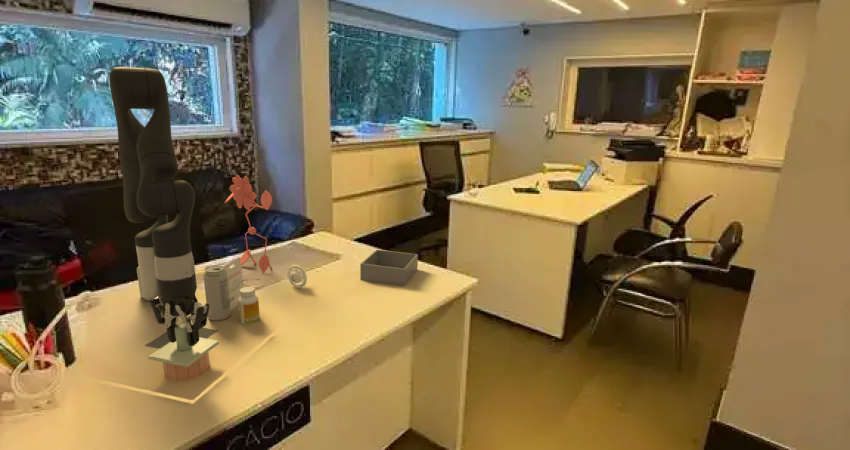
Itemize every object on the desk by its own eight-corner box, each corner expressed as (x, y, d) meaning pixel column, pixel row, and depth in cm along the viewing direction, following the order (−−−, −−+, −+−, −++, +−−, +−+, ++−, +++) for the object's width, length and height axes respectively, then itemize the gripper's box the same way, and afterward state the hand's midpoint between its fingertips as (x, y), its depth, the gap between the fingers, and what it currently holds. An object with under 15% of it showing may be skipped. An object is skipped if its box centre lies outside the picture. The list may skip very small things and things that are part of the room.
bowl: (156, 378, 103) (153, 358, 101) (185, 357, 111) (183, 338, 110) (190, 385, 101) (187, 365, 99) (217, 363, 109) (215, 344, 108)
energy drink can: (214, 312, 134) (209, 264, 129) (234, 313, 133) (230, 265, 129) (204, 322, 128) (198, 272, 124) (225, 323, 128) (220, 273, 123)
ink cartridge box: (230, 299, 142) (226, 254, 138) (245, 301, 141) (241, 256, 137) (213, 311, 134) (208, 264, 130) (228, 313, 133) (224, 266, 129)
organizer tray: (360, 279, 161) (360, 263, 159) (376, 264, 176) (376, 249, 174) (404, 285, 157) (405, 269, 155) (417, 269, 172) (417, 254, 170)
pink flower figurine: (243, 257, 178) (234, 168, 167) (289, 273, 164) (282, 176, 154) (206, 270, 165) (194, 174, 155) (252, 288, 152) (243, 184, 142)
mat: (144, 347, 115) (144, 345, 114) (180, 325, 126) (180, 323, 126) (185, 355, 112) (185, 353, 112) (218, 332, 123) (218, 330, 123)
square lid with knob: (149, 359, 101) (145, 333, 99) (182, 337, 110) (180, 313, 109) (187, 366, 99) (184, 341, 97) (218, 343, 108) (216, 320, 106)
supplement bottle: (264, 318, 131) (261, 287, 128) (251, 327, 126) (248, 294, 124) (248, 315, 133) (246, 284, 130) (235, 323, 128) (232, 291, 125)
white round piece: (284, 286, 153) (283, 264, 151) (296, 281, 158) (295, 259, 156) (302, 292, 149) (302, 269, 147) (314, 286, 154) (313, 263, 152)
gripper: (134, 274, 97) (144, 345, 102) (191, 283, 94) (199, 356, 99) (161, 262, 104) (170, 330, 109) (215, 270, 101) (222, 339, 106)
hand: (184, 342), depth 104 cm, fingers open, 4 cm apart
